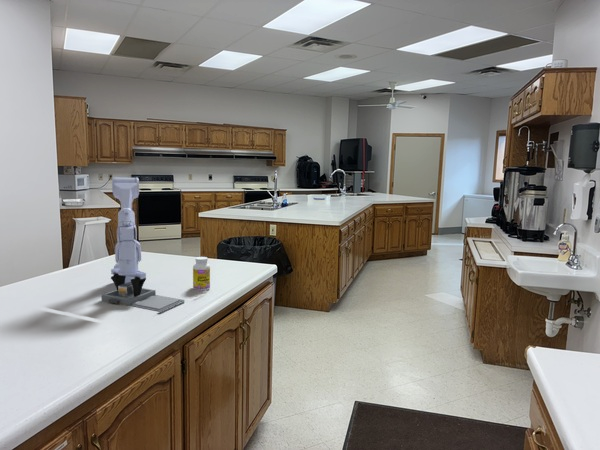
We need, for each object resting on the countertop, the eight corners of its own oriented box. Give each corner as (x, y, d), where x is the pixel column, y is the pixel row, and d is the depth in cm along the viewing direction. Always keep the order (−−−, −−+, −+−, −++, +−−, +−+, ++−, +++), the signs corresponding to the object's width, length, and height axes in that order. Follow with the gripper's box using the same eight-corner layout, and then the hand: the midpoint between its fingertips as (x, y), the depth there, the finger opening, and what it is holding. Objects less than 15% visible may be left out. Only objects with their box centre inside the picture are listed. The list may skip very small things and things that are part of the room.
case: (99, 303, 156) (98, 295, 156) (128, 293, 169) (128, 285, 169) (157, 315, 146) (157, 306, 146) (184, 303, 159) (184, 295, 158)
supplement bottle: (195, 292, 172) (195, 260, 170) (191, 288, 178) (190, 257, 176) (212, 290, 175) (211, 259, 173) (207, 286, 181) (207, 255, 179)
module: (118, 299, 158) (118, 284, 158) (131, 294, 164) (130, 280, 163) (127, 301, 157) (126, 286, 156) (139, 296, 162) (138, 282, 162)
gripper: (103, 259, 157) (105, 295, 159) (135, 263, 152) (136, 301, 154) (119, 255, 164) (120, 290, 166) (149, 259, 158) (150, 295, 160)
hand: (129, 295), depth 160 cm, fingers open, 7 cm apart
